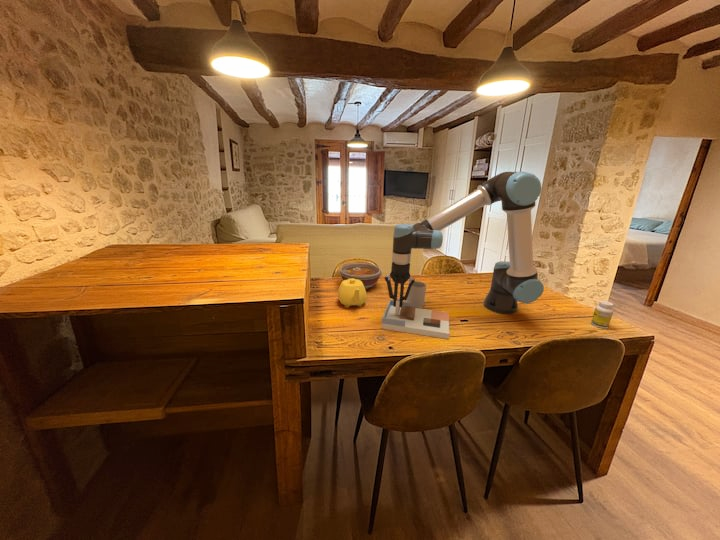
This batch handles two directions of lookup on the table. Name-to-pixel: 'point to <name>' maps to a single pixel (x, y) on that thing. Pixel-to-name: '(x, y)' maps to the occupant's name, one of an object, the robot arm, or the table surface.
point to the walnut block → (407, 312)
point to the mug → (417, 294)
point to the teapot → (352, 293)
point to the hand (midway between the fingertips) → (397, 313)
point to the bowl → (361, 273)
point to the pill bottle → (602, 314)
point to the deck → (417, 322)
